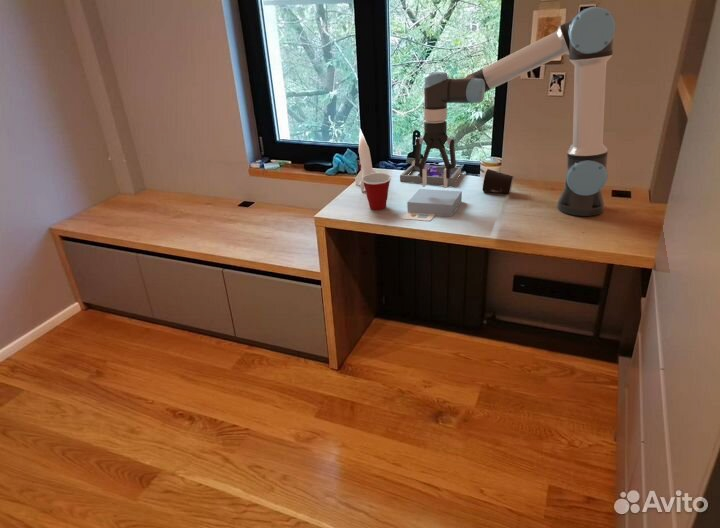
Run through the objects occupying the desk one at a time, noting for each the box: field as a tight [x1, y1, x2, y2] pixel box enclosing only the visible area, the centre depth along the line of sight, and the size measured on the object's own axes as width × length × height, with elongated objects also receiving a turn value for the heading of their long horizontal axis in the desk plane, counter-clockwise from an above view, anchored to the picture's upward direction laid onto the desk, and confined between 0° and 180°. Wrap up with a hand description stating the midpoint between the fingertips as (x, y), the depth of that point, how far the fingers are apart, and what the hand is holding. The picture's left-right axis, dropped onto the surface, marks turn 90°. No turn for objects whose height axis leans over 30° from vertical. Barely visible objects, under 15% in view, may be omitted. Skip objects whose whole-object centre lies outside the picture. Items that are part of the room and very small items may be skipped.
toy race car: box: [416, 163, 453, 177], centre depth 219 cm, size 10×15×6 cm, turn 69°
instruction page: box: [401, 211, 436, 222], centre depth 182 cm, size 10×7×1 cm
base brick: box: [406, 188, 463, 217], centre depth 189 cm, size 16×16×4 cm
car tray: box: [399, 164, 462, 187], centre depth 220 cm, size 22×17×4 cm
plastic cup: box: [362, 172, 392, 211], centre depth 189 cm, size 11×11×12 cm
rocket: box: [354, 128, 377, 192], centre depth 207 cm, size 10×9×24 cm
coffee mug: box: [482, 168, 514, 194], centre depth 202 cm, size 12×9×10 cm
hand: (434, 186), depth 187 cm, fingers open, 7 cm apart
